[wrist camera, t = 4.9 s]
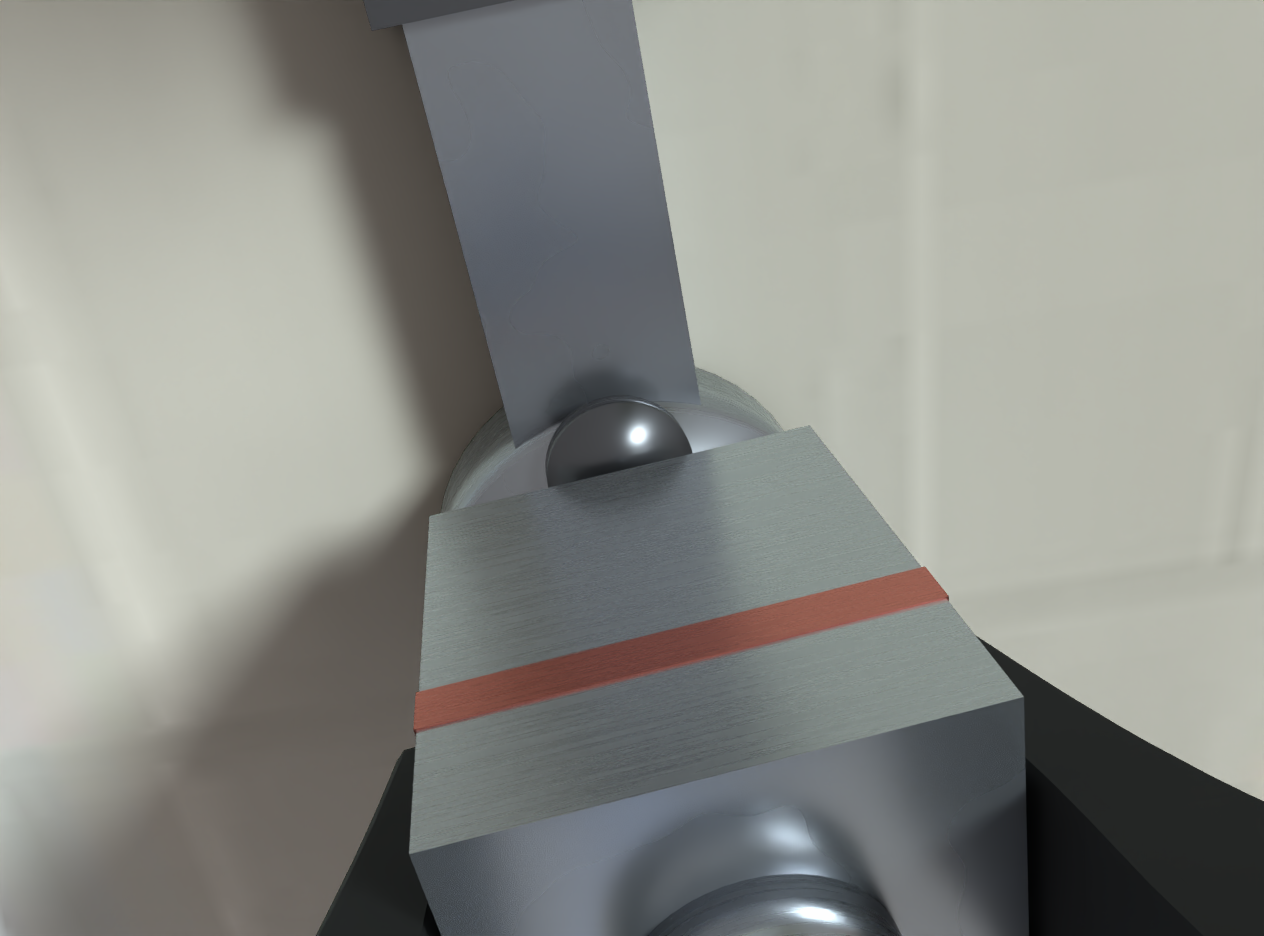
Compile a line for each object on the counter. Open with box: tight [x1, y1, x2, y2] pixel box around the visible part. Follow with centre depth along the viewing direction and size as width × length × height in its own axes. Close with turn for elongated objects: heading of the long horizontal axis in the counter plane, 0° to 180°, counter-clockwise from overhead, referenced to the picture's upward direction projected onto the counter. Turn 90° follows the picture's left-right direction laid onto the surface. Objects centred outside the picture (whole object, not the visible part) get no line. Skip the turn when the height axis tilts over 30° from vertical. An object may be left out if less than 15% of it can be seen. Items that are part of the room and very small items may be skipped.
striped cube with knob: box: [409, 425, 1029, 936], centre depth 10 cm, size 5×5×6 cm
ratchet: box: [363, 0, 784, 513], centre depth 11 cm, size 15×6×4 cm, turn 11°
